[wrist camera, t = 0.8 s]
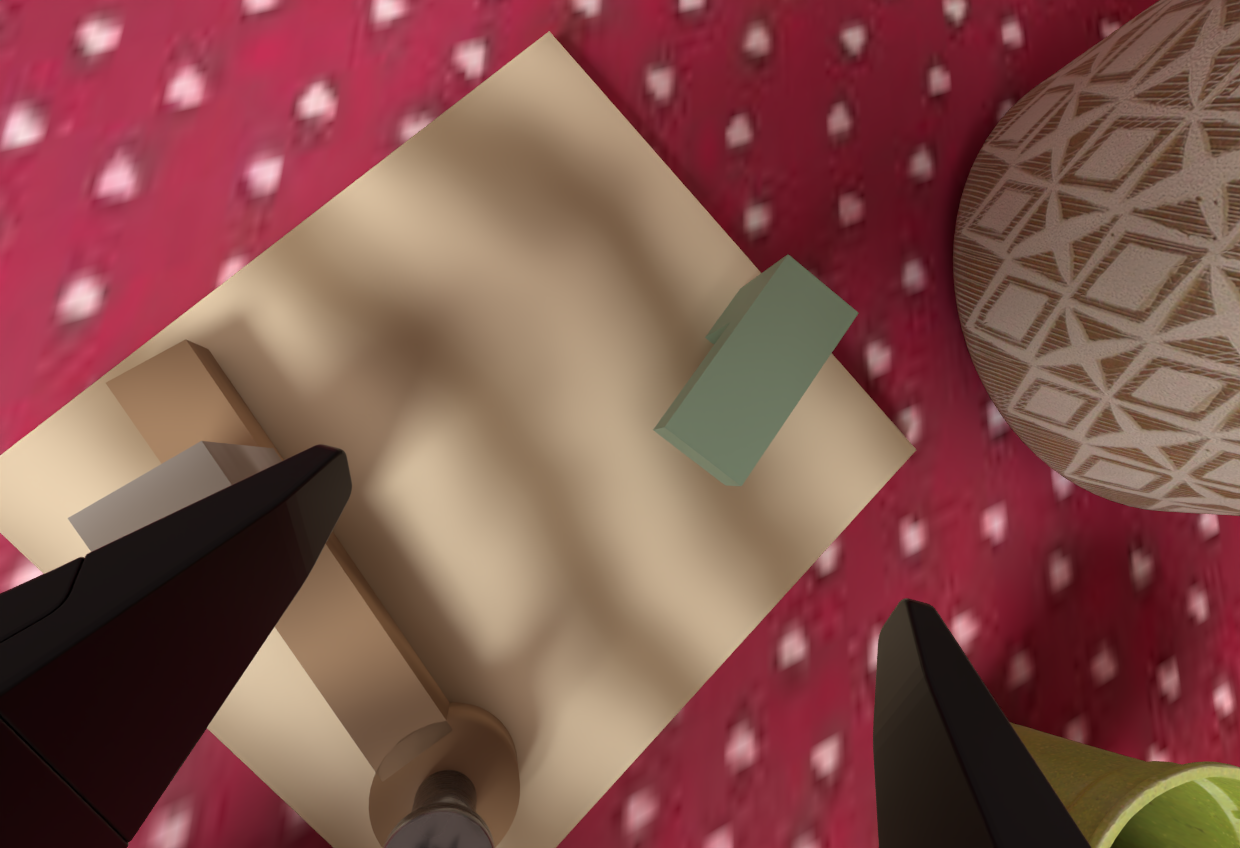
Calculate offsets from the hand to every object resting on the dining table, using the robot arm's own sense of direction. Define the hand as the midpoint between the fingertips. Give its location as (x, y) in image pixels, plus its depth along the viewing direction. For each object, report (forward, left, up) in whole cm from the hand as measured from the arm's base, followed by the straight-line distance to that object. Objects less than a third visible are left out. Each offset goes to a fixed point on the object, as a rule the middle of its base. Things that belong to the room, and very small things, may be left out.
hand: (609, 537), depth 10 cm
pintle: (-8, -4, -10) cm, 14 cm away
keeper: (+8, -1, -14) cm, 16 cm away
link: (-7, +2, -12) cm, 14 cm away
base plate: (0, +2, -14) cm, 14 cm away
